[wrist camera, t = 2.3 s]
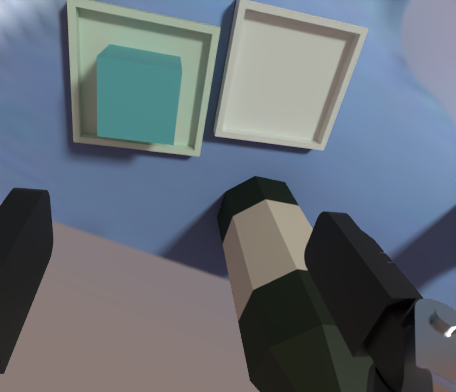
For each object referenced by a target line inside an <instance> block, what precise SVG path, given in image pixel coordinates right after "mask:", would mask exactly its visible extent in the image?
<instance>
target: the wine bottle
mask: <svg viewBox="0 0 456 392" xmlns="http://www.w3.org/2000/svg"><path fill="white" fill-rule="evenodd" d="M217 220H218V225H219V230H220V235H221V239H222V244H223V249H224V254H225V259H226V264H227V269H228V274H229V279H230V284H231V288H232V294H233V298H234V303H235V308H236V313H237V318H238V323H239V328H240V333H241V338H242V343H243V348H244V352H245V358H246V363H247V368H248V372H249V377H250V381H251V382H252V383H253V384H254V386H255V387H256V388H257V389H258V390H259V391H260V392H366V388H367V380H368V372H369V369H370V367H371V365H372V364H373V360H372V358H371V357H353V356H352V355H351V353H350V351H349V349H348V347H347V345H346V343H345V341H344V339H343V337H342V335H341V333H340V331H339V329H338V327H337V326H336V324H335V322H334V320H333V318H332V316H331V314H330V312H329V310H328V308H327V306H326V304H325V302H324V300H323V299H322V297H321V295H320V293H319V291H318V289H317V287H316V285H315V283H314V281H313V279H312V277H311V275H310V273H309V272H308V270H307V268H306V265H305V261H304V252H305V248H306V245H307V243H308V240H309V238H310V235H311V233H312V230H313V229H312V227H311V226H310V224H309V222H308V221H307V219H306V217H305V215H304V214H303V212H302V210H301V209H300V207H299V205H298V204H297V202H296V200H295V198H294V197H293V195H292V193H291V192H290V190H289V188H288V187H287V185H286V183H285V182H281V181H276V180H271V179H267V178H262V177H257V176H254V177H253V178H251V179H249V180H247V181H245V182H243V183H241V184H239V185H237V186H236V187H234V188H232V189H230V190H228V191H226V193H225V196H224V199H223V202H222V205H221V208H220V211H219V214H218V216H217Z"/></svg>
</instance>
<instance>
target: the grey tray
mask: <svg viewBox="0 0 456 392" xmlns="http://www.w3.org/2000/svg"><path fill="white" fill-rule="evenodd" d="M368 30H369V28H366V27H361V26H357V25H353V24H348V23H344V22H340V21H335V20H331V19H327V18H322V17H318V16H314V15H309V14H305V13H301V12H296V11H292V10H288V9H284V8H279V7H275V6H271V5H266V4H262V3H258V2H253V1H249V0H236V6H235V11H234V17H233V22H232V28H231V33H230V39H229V45H228V50H227V56H226V61H225V67H224V72H223V78H222V83H221V89H220V95H219V100H218V106H217V111H216V117H215V122H214V128H213V131H214V135H215V136H217V137H224V138H232V139H239V140H247V141H255V142H262V143H270V144H278V145H285V146H293V147H301V148H308V149H316V150H323V151H324V149H325V146H326V143H327V141H328V138H329V135H330V133H331V130H332V127H333V124H334V122H335V119H336V116H337V114H338V111H339V108H340V106H341V103H342V100H343V97H344V95H345V92H346V89H347V87H348V84H349V81H350V79H351V76H352V73H353V70H354V68H355V65H356V62H357V60H358V57H359V54H360V52H361V49H362V46H363V43H364V41H365V38H366V35H367V33H368Z"/></svg>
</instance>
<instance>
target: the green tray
mask: <svg viewBox="0 0 456 392" xmlns="http://www.w3.org/2000/svg"><path fill="white" fill-rule="evenodd" d="M67 14H68V35H69V57H70V78H71V100H72V121H73V142H77V143H86V144H94V145H103V146H112V147H120V148H129V149H137V150H146V151H155V152H163V153H172V154H181V155H189V156H198V157H199V156H200V150H201V144H202V138H203V132H204V126H205V120H206V114H207V108H208V102H209V96H210V90H211V83H212V77H213V71H214V65H215V59H216V53H217V47H218V41H219V35H220V29H221V28H220V27H219V26H216V25H211V24H206V23H201V22H197V21H192V20H187V19H182V18H178V17H173V16H168V15H163V14H158V13H154V12H149V11H144V10H139V9H134V8H130V7H125V6H120V5H115V4H110V3H106V2H101V1H96V0H67ZM109 44H113V45H118V46H124V47H129V48H135V49H140V50H146V51H151V52H157V53H162V54H168V55H173V56H179V57H180V58H181V65H182V78H181V87H180V95H179V104H178V112H177V120H176V129H175V137H174V145H166V144H158V143H150V142H142V141H133V140H125V139H117V138H109V137H100V136H97V55H98V54H100V53H101V52H102V51H103V50H104V49H105V48H106V47H107V46H108V45H109Z"/></svg>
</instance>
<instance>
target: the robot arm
mask: <svg viewBox="0 0 456 392" xmlns="http://www.w3.org/2000/svg"><path fill="white" fill-rule="evenodd" d="M52 248H53V228H52V217H51V205H50V196H49V192H48V191H47V190H40V189H26V188H13V189H12V190H11V192H10V193H9V194H8V196H7V197H6V198H5V200H4V201H3V203H2V204H1V205H0V374H3V373H4V372H5V370H6V367H7V365H8V362H9V360H10V357H11V355H12V352H13V350H14V347H15V345H16V342H17V340H18V337H19V335H20V332H21V330H22V327H23V325H24V322H25V320H26V317H27V315H28V312H29V310H30V307H31V305H32V302H33V300H34V297H35V295H36V292H37V290H38V287H39V285H40V283H41V280H42V277H43V275H44V272H45V270H46V268H47V265H48V263H49V260H50V257H51V253H52ZM304 261H305V265H306V268H307V270H308V272H309V273H310V275H311V277H312V279H313V281H314V283H315V285H316V287H317V289H318V291H319V293H320V295H321V297H322V299H323V300H324V302H325V304H326V306H327V308H328V310H329V312H330V314H331V316H332V318H333V320H334V322H335V324H336V326H337V327H338V329H339V331H340V333H341V335H342V337H343V339H344V341H345V343H346V345H347V347H348V349H349V351H350V353H351V355H352V356H353V357H371V358H372V360H373V364H372V365H371V367H370V369H369V372H368V380H367V388H366V392H456V310H454V309H453V308H451V307H449V306H448V305H446V304H444V303H441V302H439V301H436V300H433V299H423V297H422V296H421V295H420V294H419V293H418V291H417V290H416V289H415V288H414V287H413V285H412V284H411V283H410V282H409V281H408V280H407V278H406V277H405V276H404V275H403V274H402V272H401V271H400V270H399V269H398V268H397V266H396V265H395V264H392V260H391V259H390V258H389V257H388V256H387V255H386V254H384V251H383V250H382V249H381V247H380V246H379V245H378V244H377V243H376V241H375V240H374V239H372V238H371V237H370V236H368V235H367V234H366V233H364V232H363V231H362V230H361V229H360V228H359V227H358V226H357V225H356V223H355V222H354V221H353V220H352V218H351V217H350V216H349V215H348V214H346V213H338V212H322V213H321V214H320V215H319V216H318V218H317V221H316V223H315V226H314V228H313V230H312V233H311V235H310V238H309V240H308V243H307V245H306V248H305V252H304Z"/></svg>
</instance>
